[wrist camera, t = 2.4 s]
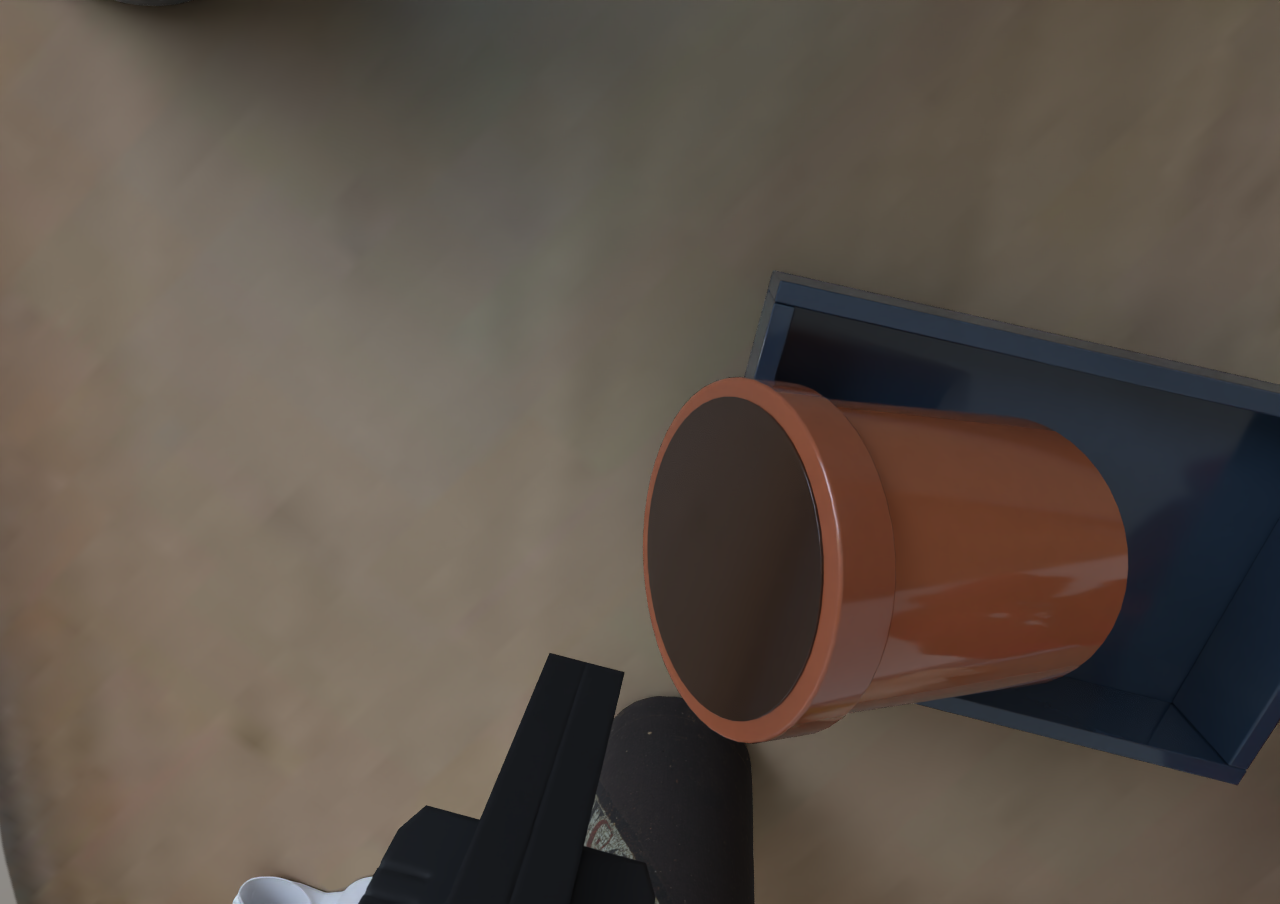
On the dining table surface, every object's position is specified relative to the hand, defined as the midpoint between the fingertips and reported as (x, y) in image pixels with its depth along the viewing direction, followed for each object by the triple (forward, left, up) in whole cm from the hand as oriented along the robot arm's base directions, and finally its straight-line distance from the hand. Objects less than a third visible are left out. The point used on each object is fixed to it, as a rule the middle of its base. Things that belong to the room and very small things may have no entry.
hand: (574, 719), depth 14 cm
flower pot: (0, +8, -19) cm, 20 cm away
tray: (0, +15, -19) cm, 24 cm away
